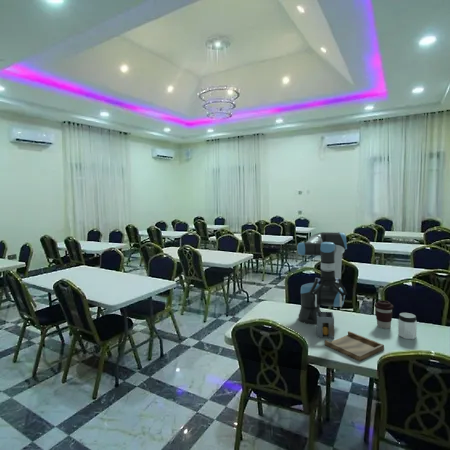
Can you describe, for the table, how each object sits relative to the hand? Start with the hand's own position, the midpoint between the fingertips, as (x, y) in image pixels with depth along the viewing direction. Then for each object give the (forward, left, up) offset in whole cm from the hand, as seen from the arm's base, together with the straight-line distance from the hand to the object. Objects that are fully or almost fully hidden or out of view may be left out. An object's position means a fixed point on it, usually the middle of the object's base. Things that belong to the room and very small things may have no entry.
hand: (328, 306), depth 182 cm
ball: (-1, -1, -15) cm, 15 cm away
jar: (+27, +33, -17) cm, 46 cm away
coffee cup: (+12, +35, -17) cm, 41 cm away
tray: (+18, -1, -17) cm, 25 cm away
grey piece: (-1, -1, -17) cm, 17 cm away
